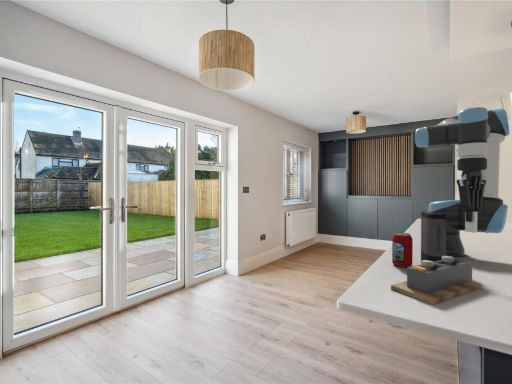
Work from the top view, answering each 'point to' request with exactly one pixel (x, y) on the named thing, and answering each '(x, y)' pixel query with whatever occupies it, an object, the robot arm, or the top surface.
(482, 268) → the top surface
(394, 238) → the beverage can
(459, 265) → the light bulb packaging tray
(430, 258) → the electronic device
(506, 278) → the top surface
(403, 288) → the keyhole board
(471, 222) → the robot arm
